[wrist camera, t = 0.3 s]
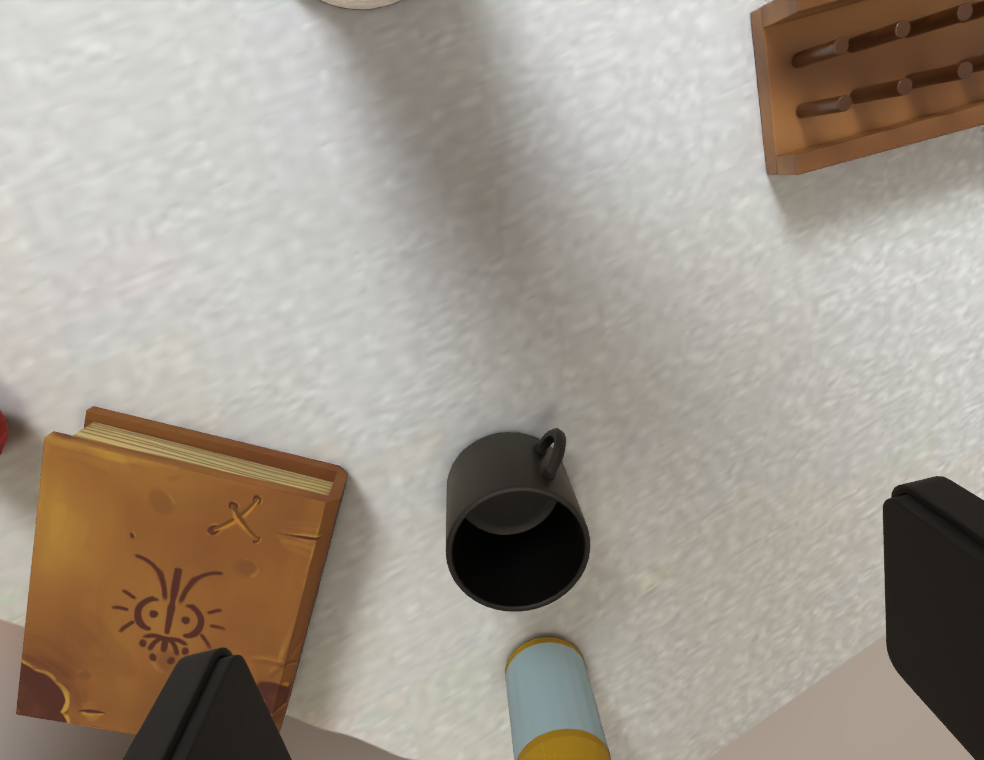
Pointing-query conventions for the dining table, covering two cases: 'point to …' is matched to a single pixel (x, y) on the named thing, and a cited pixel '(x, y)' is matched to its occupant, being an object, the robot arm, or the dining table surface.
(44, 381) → the dining table surface
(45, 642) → the diary
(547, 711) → the bottle
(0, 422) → the onion
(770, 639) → the dining table surface
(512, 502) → the mug
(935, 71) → the rack
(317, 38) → the dining table surface
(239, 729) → the robot arm
